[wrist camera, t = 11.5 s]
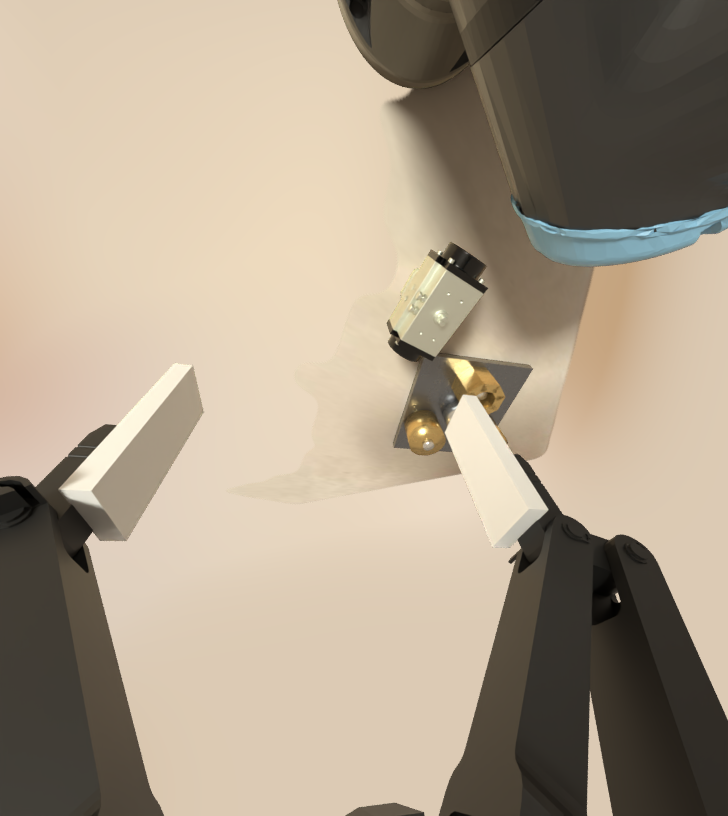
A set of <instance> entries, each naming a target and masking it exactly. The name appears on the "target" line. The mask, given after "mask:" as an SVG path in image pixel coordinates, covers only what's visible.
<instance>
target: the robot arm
mask: <svg viewBox="0 0 728 816" xmlns="http://www.w3.org/2000/svg"><path fill="white" fill-rule="evenodd" d="M338 4H339V8H340V11H341V14H342V16H343V19H344V22H345V24H346V26H347V29H348V31H349V33H350V35H351V37H352V39H353V41H354V43H355V44H356V46H357V48H358V49H359V51H360V53H361V54H362V55H363V57H364V58H365V59H366V61H367V62H368V63H369V64H370V65H371V66H372V67H373V68H374V69H375V70H376V71H377V72H378V73H379V74H380V75H381V76H383V77H384V78H386V79H387V80H389V81H391V82H392V83H395V84H397V85H400V86H402V87H407V88H413V89H422V88H429V87H433V86H436V85H439V84H442V83H444V82H446V81H448V80H449V79H451V78H453V77H454V76H456V75H457V74H459V73H460V72H461V71H462V70H464V69H465V68H466V67H467V66H468V65H469V64H470V66H471V65H472V66H471V67H470V68H471V71H472V74H473V77H474V80H475V83H476V86H477V89H478V92H479V95H480V99H481V102H482V105H483V108H484V111H485V114H486V117H487V120H488V123H489V126H490V129H491V132H492V135H493V138H494V141H495V144H496V147H497V150H498V153H499V157H500V160H501V163H502V166H503V169H504V172H505V175H506V178H507V181H508V184H509V187H510V190H511V193H512V194H511V202H512V206H513V208H514V210H515V212H516V214H517V215H518V216H519V217H520V218H521V219H522V222H523V224H524V227H525V229H526V232H527V234H528V237H529V240H530V242H531V244H532V245H533V247H534V248H535V249H536V250H537V251H538V252H540V253H542V254H543V255H544V256H545V257H546V258H549V259H550V260H552V261H554V262H558V263H561V264H565V265H571V266H583V267H595V266H609V265H618V264H625V263H631V262H636V261H641V260H646V259H650V258H654V257H657V256H661V255H664V254H668V253H671V252H674V251H677V250H680V249H682V248H685V247H688V246H690V245H692V244H694V243H695V242H696V241H697V240H698V238H699V236H700V235H702V234H716V233H720V232H722V231H723V230H725V229H727V228H728V0H338ZM202 414H203V407H202V403H201V398H200V394H199V390H198V385H197V381H196V377H195V372H194V368H193V365H185V364H176V363H175V364H173V365H172V366H171V368H170V369H169V370H168V371H167V372H166V373H165V374H164V375H163V376H162V377H161V378H160V380H159V381H158V382H157V383H156V384H155V385H154V386H153V387H152V388H151V389H150V390H149V391H148V392H147V394H146V395H145V396H144V397H143V398H142V399H141V400H140V401H139V402H138V403H137V404H136V405H135V407H134V408H133V409H132V410H131V411H130V412H129V413H128V414H127V415H126V416H125V417H124V419H123V420H122V421H121V422H120V423H119V424H118V425H107V424H106V425H104V426H102V427H100V428H98V429H97V430H95V431H93V432H91V433H90V434H88V435H87V436H86V437H85V438H84V439H83V440H82V441H81V442H80V443H79V444H78V447H75V448H74V450H72V451H71V452H70V453H69V455H68V457H65V459H63V460H62V462H60V464H58V465H57V466H56V467H55V468H54V469H53V470H52V472H50V473H49V474H48V475H47V476H46V477H45V478H44V480H42V481H41V482H40V483H39V484H38V485H37V486H36V487H34V486H33V484H32V483H31V482H30V481H29V480H28V479H26V478H23V477H20V476H11V477H3V478H0V816H164V814H163V812H162V810H161V807H160V805H159V804H158V802H157V800H156V799H155V797H154V796H153V794H152V792H151V789H150V786H149V783H148V779H147V775H146V771H145V768H144V764H143V760H142V756H141V752H140V748H139V744H138V740H137V736H136V732H135V728H134V725H133V721H132V717H131V713H130V709H129V705H128V701H127V697H126V694H125V689H124V685H123V682H122V678H121V674H120V670H119V666H118V662H117V658H116V654H115V650H114V646H113V642H112V638H111V635H110V631H109V627H108V623H107V619H106V615H105V611H104V607H103V604H102V599H101V596H100V592H99V588H98V584H97V580H96V576H95V572H94V568H93V565H92V560H91V556H90V552H89V549H88V546H87V545H86V544H85V541H86V540H87V539H88V537H89V536H90V534H91V533H92V532H93V533H94V534H95V535H96V536H97V537H98V539H99V540H100V541H127V539H128V538H129V536H130V534H131V533H132V531H133V529H134V528H135V526H136V524H137V523H138V521H139V519H140V518H141V516H142V514H143V513H144V511H145V509H146V508H147V506H148V504H149V503H150V501H151V499H152V498H153V496H154V494H155V493H156V491H157V489H158V488H159V486H160V484H161V483H162V481H163V479H164V477H165V476H166V474H167V473H168V471H169V469H170V468H171V466H172V464H173V463H174V461H175V459H176V457H177V456H178V454H179V453H180V451H181V449H182V447H183V446H184V444H185V442H186V441H187V439H188V437H189V436H190V434H191V432H192V431H193V429H194V427H195V426H196V424H197V422H198V421H199V419H200V417H201V416H202ZM445 434H446V437H447V439H448V442H449V444H450V446H451V449H452V451H453V454H454V456H455V458H456V461H457V463H458V466H459V468H460V470H461V473H462V475H463V477H464V480H465V483H466V485H467V487H468V490H469V492H470V495H471V497H472V499H473V502H474V504H475V506H476V509H477V511H478V514H479V516H480V519H481V521H482V523H483V526H484V528H485V530H486V533H487V535H488V538H489V540H490V543H491V545H492V547H495V548H510V547H511V546H512V545H513V544H514V543H515V542H516V541H517V540H518V542H519V544H520V546H521V549H520V550H519V551H518V552H517V553H516V554H515V555H514V556H513V557H512V558H510V560H509V563H512V562H513V561H515V560H516V561H515V565H514V569H513V572H512V576H511V580H510V584H509V588H508V591H507V595H506V599H505V602H504V606H503V610H502V614H501V617H500V621H499V625H498V628H497V632H496V636H495V640H494V643H493V648H492V651H491V655H490V658H489V662H488V666H487V670H486V673H485V677H484V681H483V685H482V688H481V692H480V696H479V700H478V703H477V707H476V711H475V715H474V718H473V722H472V726H471V730H470V733H469V737H468V741H467V744H466V748H465V751H464V755H463V757H462V759H461V761H460V763H459V764H458V766H457V767H456V768H455V770H454V772H453V774H452V776H451V778H450V780H449V783H448V786H447V789H446V792H445V796H444V799H443V803H442V806H441V810H440V814H439V816H587V780H588V779H587V778H588V776H587V775H588V739H589V702H590V692H591V698H592V703H593V708H594V714H595V720H596V725H597V731H598V736H599V741H600V747H601V752H602V758H603V763H604V769H605V774H606V779H607V785H608V791H609V796H610V802H611V807H612V813H613V816H728V720H727V718H726V715H725V713H724V711H723V709H722V706H721V704H720V702H719V700H718V697H717V695H716V693H715V691H714V688H713V686H712V684H711V682H710V680H709V677H708V675H707V673H706V670H705V668H704V666H703V664H702V662H701V659H700V657H699V655H698V652H697V650H696V648H695V646H694V644H693V641H692V639H691V637H690V635H689V632H688V630H687V628H686V626H685V623H684V621H683V619H682V617H681V615H680V612H679V610H678V608H677V606H676V603H675V601H674V599H673V596H672V594H671V592H670V590H669V587H668V585H667V583H666V581H665V578H664V576H663V574H662V572H661V569H660V567H659V565H658V563H657V561H656V559H655V558H654V556H653V555H652V553H651V552H650V551H649V550H648V549H647V548H646V547H645V546H644V545H642V544H641V543H640V542H638V541H637V540H635V539H633V538H631V537H629V536H626V535H616V536H615V537H614V538H612V539H611V540H607V539H604V538H601V537H598V536H595V535H592V534H590V533H589V532H588V530H587V529H586V528H585V527H584V526H583V525H582V524H581V523H579V522H578V521H576V520H575V519H573V518H571V517H568V516H565V515H563V514H562V512H561V511H560V510H559V508H558V506H557V505H556V504H555V502H554V500H553V499H552V498H551V496H550V495H549V493H548V492H547V490H546V489H545V487H544V486H543V484H541V481H540V480H539V478H538V477H537V476H536V475H535V472H534V471H533V469H532V468H531V466H530V465H529V463H528V462H526V461H525V460H524V459H523V458H522V457H521V456H520V455H518V454H513V453H512V451H511V450H510V448H509V447H508V445H507V444H506V442H505V440H504V439H503V437H502V436H501V434H500V433H499V431H498V429H497V428H496V426H495V425H494V423H493V421H492V420H491V418H490V417H489V415H488V414H487V412H486V410H485V409H484V407H483V406H482V404H481V403H480V401H479V399H478V398H477V396H472V395H462V397H461V399H460V402H459V404H458V406H457V408H456V410H455V412H454V414H453V416H452V418H451V420H450V423H449V425H448V427H447V429H446V431H445ZM616 593H618V594H619V597H620V600H621V602H620V603H618V601H617V599H616V596H615V594H616ZM346 816H424V812H421V811H418V810H415V809H412V808H409V807H406V806H403V805H400V804H397V803H389V804H382V805H374V806H367V807H359V808H357V809H355V810H354V811H353V812H351V813H349V814H347V815H346Z"/></svg>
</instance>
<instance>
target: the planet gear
mask: <svg viewBox="0 0 728 816" xmlns="http://www.w3.org/2000/svg"><path fill="white" fill-rule="evenodd" d="M451 388H452V390H453V392H454V394H455V396H456V398H457V399H458V401H459V402H460V399H461V397H462V395H472V396H477V395H479V394H480V393H482V392H487V394H488V395H487V397H486V398H485V399H483V400H479V401H480V403H481V404H482V406H483V407H484V409H485V410H486V412H487V414H490V413H492V412H494V411H496V410H498V409H499V407H500V405H501V404H502V402H503V400H504V399H505V395H504V393H503V391H502V388H501V386H500V385H499V384H498V382H497V381H496V380H495V378H494V377H493V376H492V375H491V373H490V372H489V371H488V369H487V368H484V367H476V366H470V367H469V368H467V369H465V370H463V371H461V372H460V373H458V374H456V377H455V379H454V381H453V384H452V386H451Z"/></svg>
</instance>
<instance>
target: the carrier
mask: <svg viewBox="0 0 728 816" xmlns="http://www.w3.org/2000/svg"><path fill="white" fill-rule="evenodd" d="M470 366H476V367H484V368H487V369H488V371H489V372H490V373H491V375H492V376H493V377H494V378H495V380H496V381H497V382H498V384H499V385H500V386H501V388H502V391H503V393H504V395H505V399H504V400H503V402H502V404H501V405H500V407H499V409H498V410H496V411H494V412H492V413H490V414H488V415H489V417H490V418H491V420H492V421H493V423H494V425H495V426H496V428H497V429H498V431H499V433H500V434H501V436H502V437H503V439H504V440H505V442H506V444H507V445H508V442H507V440H506V438H505V436H504V435H503V433H502V432H501V430H500V429H499V427H498V424H499V423H500V421H501V420H502V418H503V416H504V415H505V413H506V411H507V410H508V408H509V407H510V405H511V403H512V402H513V400H514V399H515V397H516V395H517V394H518V392H519V391H520V389H521V387H522V386H523V384H524V383H525V381H526V379H527V378H528V376H529V374H530V373H531V371H532V370H533V368H532V367H531V366H530V365H526V364H518V363H511V362H503V361H495V360H488V359H480V358H473V357H465V356H457V355H450V354H442V353H438V354H437V356H436V357H435V358H434V360H433V361H430V360H428V359H426V358H424V357H421V360H420V363H419V366H418V369H417V372H416V375H415V378H414V381H413V384H412V387H411V390H410V393H409V396H408V399H407V402H406V405H405V408H404V411H403V414H402V417H401V420H400V423H399V426H398V429H397V432H396V435H395V438H394V442H393V446H394V448H406V449H411V451H412V452H414V453H415V454H418V455H430V454H434V453H436V452H438V451H446V452H453V451H452V449H451V446H450V444H449V442H448V439H447V437H446V434H445V431H446V429H447V427H448V425H449V423H450V420H451V418H452V416H453V414H454V412H455V410H456V408H457V406H458V404H459V401H458V399H457V398H456V396H455V394H454V392H453V390H452V388H451V386H452V384H453V381H454V379H455V377H456V374H458V373H460V372H461V371H463V370H465V369H467V368H469V367H470ZM487 395H488V394H487V392H482V393H480V394H479V395H477V398H478V399H479V400H483V399H485V398H486V397H487Z"/></svg>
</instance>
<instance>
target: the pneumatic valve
mask: <svg viewBox="0 0 728 816" xmlns="http://www.w3.org/2000/svg"><path fill="white" fill-rule="evenodd" d="M486 267H487V266H486V265H485V264H484V263H482V262H481V261H479V260H478V259H477V258H475V257H474V256H472V255H471V254H469V253H468V252H466V251H465V250H463V249H462V248H460V247H459V246H457V245H456V244H454V243H452V242H450V243H449V245H448V246H447V248H446V249H445V251H444V253H443V252H441V251H440V250H438V252H437V253H436V252H435V251H433V250H430V252H429V254H428V255H427V257H426V259H425V260H424V262H423V264H422V265H421V267H420V269H419V268H417V269H416V270H415V269H414V271H413V272H412V274H411V276H410V277H409V279H408V281H407V282H406V284H405V286H404V288H403V289H402V291H401V298H402V299H401V300H400V302H399V304H398V305H397V307H396V309H395V310H394V312H393V314H392V315H391V317H390V319H389V320H388V322H387V326H388V329H389V332H390V334H391V337H390V339H389V340H388V343H389V345H390V347H391V348H392V349H393V350H394V351H395V352H396V353H397V354H399V355H400V356H402V357H403V358H405V359H407V360H410V361H413V362H417V361H419V359H420V358H421V356H422V357H424V358H426V359H428V360H430V361H433V360H434V358H435V357H436V356H437V354H438V353H439V352H440V351H441V349H442V348H443V347H444V345H445V344H446V343H447V341H448V340H449V339H450V337H451V336H452V335H453V333H454V332H455V331H456V330H457V328H458V327H459V326H460V324H461V323H462V322H463V320H464V319H465V318H466V316H467V315H468V314H469V312H470V311H471V310H472V309H473V307H474V306H475V305H476V303H477V302H478V301H479V299H480V298H481V297H482V295H483V294H484V293H485V291H486V290H487V289H488V288H487V287H486V286H484V285H483V283H484V282H485V281H484V280H483V279H481V278H480V279H479V281H477V280H478V278H479V277H480V275H481V274H482V273H483V271H484V270H485V269H486ZM481 283H482V284H481Z"/></svg>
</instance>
